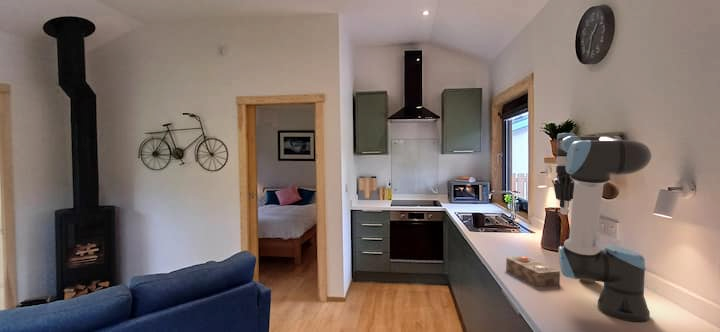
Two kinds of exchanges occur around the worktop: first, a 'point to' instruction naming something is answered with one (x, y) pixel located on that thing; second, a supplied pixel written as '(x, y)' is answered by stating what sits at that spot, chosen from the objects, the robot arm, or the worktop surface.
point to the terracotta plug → (523, 259)
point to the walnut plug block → (533, 272)
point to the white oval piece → (540, 267)
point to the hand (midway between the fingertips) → (564, 214)
